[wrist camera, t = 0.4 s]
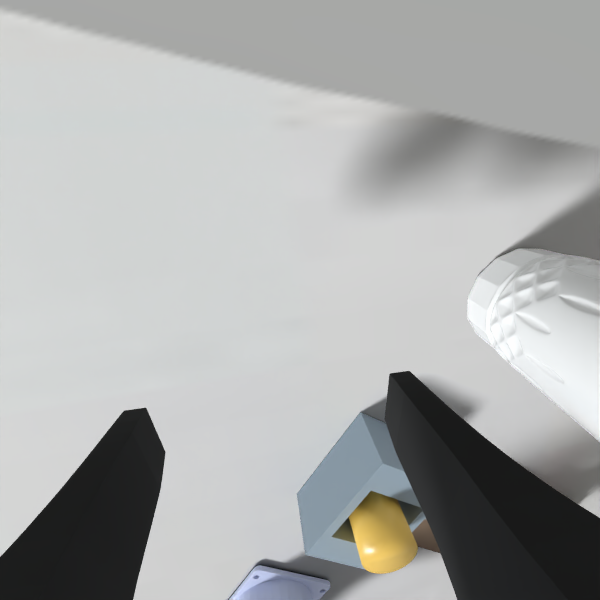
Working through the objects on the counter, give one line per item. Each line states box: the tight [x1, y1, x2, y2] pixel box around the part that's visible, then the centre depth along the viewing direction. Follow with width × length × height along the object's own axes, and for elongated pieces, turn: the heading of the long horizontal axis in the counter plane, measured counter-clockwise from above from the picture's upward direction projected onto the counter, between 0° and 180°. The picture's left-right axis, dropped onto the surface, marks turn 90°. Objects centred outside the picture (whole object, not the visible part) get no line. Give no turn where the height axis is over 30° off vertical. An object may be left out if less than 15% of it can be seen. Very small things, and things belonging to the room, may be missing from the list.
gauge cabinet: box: [297, 412, 426, 570], centre depth 24 cm, size 9×6×4 cm, turn 149°
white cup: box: [467, 248, 600, 442], centre depth 18 cm, size 8×8×10 cm
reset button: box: [349, 491, 418, 574], centre depth 22 cm, size 4×4×4 cm
